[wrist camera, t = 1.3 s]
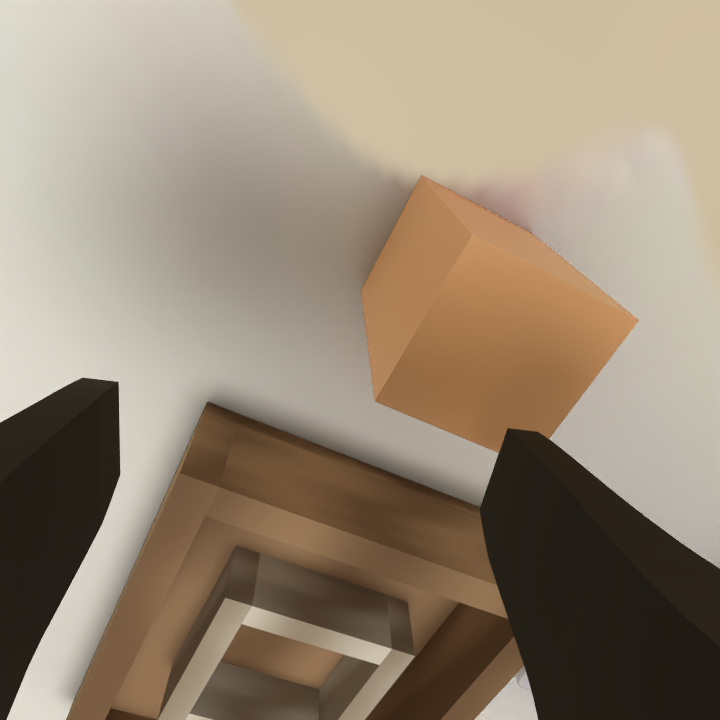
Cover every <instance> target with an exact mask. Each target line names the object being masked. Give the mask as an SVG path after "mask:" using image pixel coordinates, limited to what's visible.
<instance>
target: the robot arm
mask: <svg viewBox="0 0 720 720" xmlns="http://www.w3.org/2000/svg"><path fill="white" fill-rule="evenodd" d="M119 476H120V438H119V386H118V382H114V381H106V380H97V379H89V378H81V379H79V380H77V381H75V382H73V383H71V384H69V385H67V386H65V387H63V388H62V389H60V390H58V391H56V392H54V393H53V394H51V395H49V396H47V397H46V398H44V399H42V400H40V401H39V402H37V403H35V404H33V405H31V406H30V407H28V408H26V409H24V410H22V411H21V412H19V413H17V414H15V415H13V416H12V417H10V418H8V419H6V420H4V421H3V422H1V423H0V720H6V719H7V717H8V714H9V712H10V709H11V707H12V705H13V702H14V700H15V697H16V695H17V692H18V690H19V688H20V685H21V683H22V680H23V678H24V675H25V673H26V670H27V668H28V666H29V664H30V662H31V660H32V657H33V655H34V653H35V651H36V649H37V647H38V645H39V643H40V641H41V639H42V637H43V635H44V633H45V631H46V629H47V627H48V625H49V624H50V622H51V620H52V618H53V616H54V614H55V612H56V610H57V608H58V607H59V605H60V603H61V601H62V599H63V597H64V595H65V593H66V592H67V590H68V588H69V586H70V584H71V582H72V580H73V578H74V577H75V575H76V573H77V571H78V569H79V567H80V565H81V563H82V561H83V560H84V558H85V556H86V554H87V552H88V550H89V548H90V546H91V544H92V542H93V540H94V538H95V537H96V535H97V533H98V531H99V529H100V527H101V525H102V523H103V520H104V517H105V515H106V512H107V510H108V507H109V504H110V502H111V499H112V496H113V493H114V490H115V488H116V485H117V482H118V479H119ZM480 516H481V522H482V528H483V534H484V539H485V544H486V549H487V554H488V559H489V562H490V565H491V568H492V571H493V574H494V577H495V581H496V584H497V587H498V590H499V593H500V596H501V599H502V602H503V605H504V608H505V611H506V614H507V617H508V620H509V623H510V626H511V629H512V631H513V634H514V637H515V640H516V643H517V646H518V649H519V652H520V655H521V658H522V661H523V664H524V666H523V667H522V668H521V669H520V670H519V672H518V673H517V675H516V678H517V682H518V684H519V686H521V687H523V688H526V689H529V690H531V691H532V694H533V698H534V702H535V707H536V711H537V716H538V720H720V569H719V568H718V567H716V566H715V565H713V564H712V563H710V562H708V561H707V560H705V559H704V558H702V557H701V556H699V555H698V554H696V553H695V552H693V551H692V550H690V549H689V548H688V547H686V546H685V545H683V544H682V543H680V542H679V541H678V540H676V539H675V538H673V537H672V536H671V535H669V534H668V533H667V532H665V531H664V530H663V529H661V528H660V527H659V526H657V525H656V524H655V523H653V522H652V521H650V520H649V519H648V518H646V517H645V516H644V515H643V514H641V513H640V512H639V511H637V510H636V509H635V508H634V507H632V506H631V505H630V504H628V503H627V502H626V501H625V500H623V499H622V498H621V497H620V496H618V495H617V494H616V493H615V492H613V491H612V490H611V489H610V488H608V487H607V486H606V485H605V484H604V483H602V482H601V481H600V480H599V479H598V478H596V477H595V476H594V475H593V474H591V473H590V472H589V471H588V470H587V469H585V468H584V467H583V466H582V465H581V464H579V463H578V462H577V461H576V460H575V459H573V458H572V457H571V456H570V455H568V454H567V453H566V452H565V451H563V450H562V449H561V448H560V447H558V446H557V445H556V444H555V443H553V442H552V441H551V440H549V439H548V438H547V437H545V436H544V435H542V434H541V433H539V432H537V431H529V430H520V429H512V428H507V431H506V434H505V437H504V440H503V443H502V446H501V449H500V452H499V455H498V457H497V460H496V463H495V466H494V469H493V472H492V475H491V478H490V481H489V484H488V487H487V490H486V492H485V495H484V498H483V501H482V504H481V507H480Z"/></svg>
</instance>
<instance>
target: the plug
mask: <svg viewBox="0 0 720 720" xmlns="http://www.w3.org/2000/svg"><path fill="white" fill-rule="evenodd" d="M361 295H362V303H363V311H364V319H365V327H366V335H367V343H368V351H369V359H370V367H371V375H372V383H373V391H374V399H375V401H376V402H378V403H380V404H383V405H385V406H388V407H390V408H392V409H395V410H397V411H400V412H402V413H404V414H407V415H409V416H412V417H414V418H416V419H419V420H421V421H424V422H426V423H428V424H431V425H433V426H436V427H438V428H440V429H443V430H445V431H448V432H450V433H453V434H455V435H457V436H460V437H462V438H465V439H467V440H469V441H472V442H474V443H477V444H479V445H481V446H484V447H486V448H489V449H491V450H493V451H496V452H498V453H499V452H500V449H501V446H502V443H503V440H504V437H505V434H506V431H507V428H512V429H520V430H529V431H537V432H539V433H541V434H542V435H544V436H545V437H547V438H548V439H549V438H550V437H551V435H552V434H553V433H554V432H555V430H556V429H557V428H558V426H559V425H560V424H561V422H562V421H563V420H564V418H565V417H566V416H567V414H568V413H569V412H570V410H571V409H572V408H573V406H574V405H575V404H576V402H577V401H578V400H579V399H580V397H581V396H582V395H583V393H584V392H585V391H586V389H587V388H588V387H589V385H590V384H591V383H592V381H593V380H594V379H595V377H596V376H597V375H598V373H599V372H600V371H601V369H602V368H603V367H604V366H605V364H606V363H607V362H608V360H609V359H610V358H611V356H612V355H613V354H614V352H615V351H616V350H617V348H618V347H619V346H620V344H621V343H622V342H623V340H624V339H625V338H626V336H627V335H628V334H629V332H630V331H631V330H632V329H633V327H634V326H635V325H636V323H637V322H638V321H639V320H638V319H637V318H635V317H634V316H633V315H632V314H630V313H629V312H628V311H627V310H626V309H624V308H623V307H622V306H621V305H619V304H618V303H617V302H616V301H615V300H613V299H612V298H611V297H610V296H608V295H607V294H606V293H605V292H603V291H602V290H601V289H600V288H599V287H597V286H596V285H595V284H594V283H592V282H591V281H590V280H589V279H587V278H586V277H585V276H584V275H583V274H581V273H580V272H579V271H578V270H576V269H575V268H574V267H573V266H572V265H570V264H569V263H568V262H567V261H565V260H564V259H563V258H562V257H560V256H559V255H558V254H557V253H556V252H554V251H553V250H552V249H551V248H549V247H548V246H547V245H546V244H545V243H543V242H542V241H541V240H540V239H538V238H537V237H536V236H535V235H533V234H532V233H530V232H528V231H526V230H524V229H522V228H520V227H519V226H517V225H515V224H513V223H511V222H509V221H507V220H505V219H503V218H502V217H500V216H498V215H496V214H494V213H492V212H490V211H488V210H486V209H485V208H483V207H481V206H479V205H477V204H475V203H473V202H471V201H469V200H468V199H466V198H464V197H462V196H460V195H458V194H456V193H454V192H452V191H451V190H449V189H447V188H445V187H443V186H441V185H439V184H437V183H435V182H434V181H432V180H430V179H428V178H426V177H424V176H422V175H421V177H420V179H419V181H418V183H417V185H416V187H415V189H414V191H413V192H412V194H411V196H410V198H409V200H408V202H407V204H406V206H405V208H404V210H403V211H402V213H401V215H400V217H399V219H398V221H397V223H396V225H395V227H394V229H393V231H392V232H391V234H390V236H389V238H388V240H387V242H386V244H385V246H384V248H383V250H382V251H381V253H380V255H379V257H378V259H377V261H376V263H375V265H374V267H373V269H372V270H371V272H370V274H369V276H368V278H367V280H366V282H365V284H364V286H363V288H362V289H361Z"/></svg>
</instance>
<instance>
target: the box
mask: <svg viewBox="0 0 720 720" xmlns="http://www.w3.org/2000/svg"><path fill="white" fill-rule="evenodd" d="M523 666H524V664H523V661H522V658H521V655H520V652H519V649H518V646H517V643H516V640H515V637H514V634H513V631H512V629H511V626H510V623H509V620H508V617H507V614H506V611H505V608H504V605H503V602H502V599H501V596H500V593H499V590H498V587H497V584H496V581H495V577H494V574H493V571H492V568H491V565H490V562H489V559H488V554H487V549H486V544H485V539H484V534H483V528H482V522H481V516H480V508H479V507H477V506H474V505H472V504H469V503H467V502H464V501H461V500H459V499H456V498H454V497H451V496H448V495H446V494H443V493H441V492H438V491H435V490H433V489H430V488H428V487H425V486H423V485H420V484H417V483H415V482H412V481H410V480H407V479H404V478H402V477H399V476H397V475H394V474H392V473H389V472H386V471H384V470H381V469H379V468H376V467H373V466H371V465H368V464H366V463H363V462H361V461H358V460H355V459H353V458H350V457H348V456H345V455H342V454H340V453H337V452H335V451H332V450H329V449H327V448H324V447H322V446H319V445H317V444H314V443H311V442H309V441H306V440H304V439H301V438H298V437H296V436H293V435H291V434H288V433H286V432H283V431H280V430H278V429H275V428H273V427H270V426H267V425H265V424H262V423H260V422H257V421H255V420H252V419H249V418H247V417H244V416H242V415H239V414H236V413H234V412H231V411H229V410H226V409H223V408H221V407H218V406H216V405H213V404H211V403H208V402H207V403H206V406H205V408H204V410H203V412H202V415H201V417H200V419H199V421H198V424H197V426H196V428H195V430H194V432H193V435H192V437H191V439H190V441H189V444H188V446H187V448H186V450H185V453H184V455H183V457H182V459H181V462H180V464H179V466H178V468H177V471H176V473H175V475H174V477H173V480H172V482H171V484H170V486H169V489H168V491H167V493H166V495H165V498H164V500H163V502H162V504H161V506H160V509H159V511H158V513H157V515H156V518H155V520H154V522H153V524H152V527H151V529H150V531H149V533H148V536H147V538H146V540H145V542H144V545H143V547H142V549H141V551H140V554H139V556H138V558H137V560H136V563H135V565H134V567H133V569H132V572H131V574H130V576H129V578H128V581H127V583H126V585H125V587H124V589H123V592H122V594H121V596H120V598H119V601H118V603H117V605H116V607H115V610H114V612H113V614H112V616H111V619H110V621H109V623H108V625H107V628H106V630H105V632H104V634H103V637H102V639H101V641H100V643H99V646H98V648H97V650H96V652H95V655H94V657H93V659H92V661H91V663H90V666H89V668H88V670H87V672H86V675H85V677H84V679H83V681H82V684H81V686H80V688H79V690H78V693H77V695H76V697H75V699H74V702H73V704H72V706H71V709H70V711H69V714H68V716H67V719H66V720H474V719H475V718H476V717H477V716H478V715H479V714H480V713H481V712H482V710H483V709H484V708H485V707H486V706H487V705H488V704H489V703H490V702H491V701H492V700H493V698H494V697H495V696H496V695H497V694H498V693H499V692H500V691H501V690H502V689H503V688H504V687H505V685H506V684H507V683H508V682H509V681H510V680H511V679H512V678H513V677H514V676H515V675H516V673H517V672H518V671H519V670H520V669H521V668H522V667H523Z"/></svg>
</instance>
